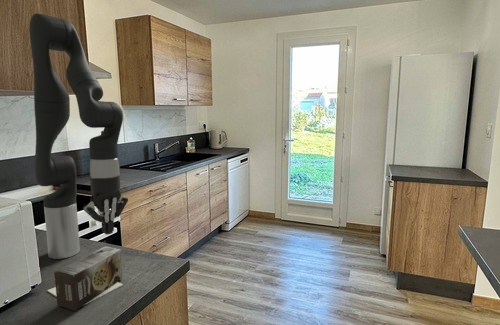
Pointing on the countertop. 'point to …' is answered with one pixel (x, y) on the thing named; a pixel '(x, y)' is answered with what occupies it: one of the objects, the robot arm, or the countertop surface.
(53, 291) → the mat
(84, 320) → the countertop surface
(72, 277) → the coffee box
